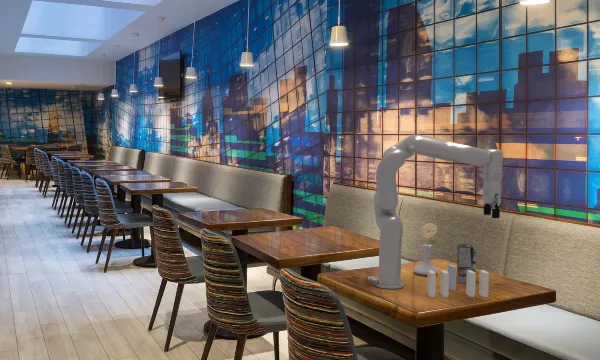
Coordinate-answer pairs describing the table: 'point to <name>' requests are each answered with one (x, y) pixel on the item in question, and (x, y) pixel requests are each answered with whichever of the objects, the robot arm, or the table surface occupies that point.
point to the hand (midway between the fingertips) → (491, 216)
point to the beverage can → (474, 260)
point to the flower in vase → (427, 250)
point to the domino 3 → (452, 276)
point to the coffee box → (464, 261)
